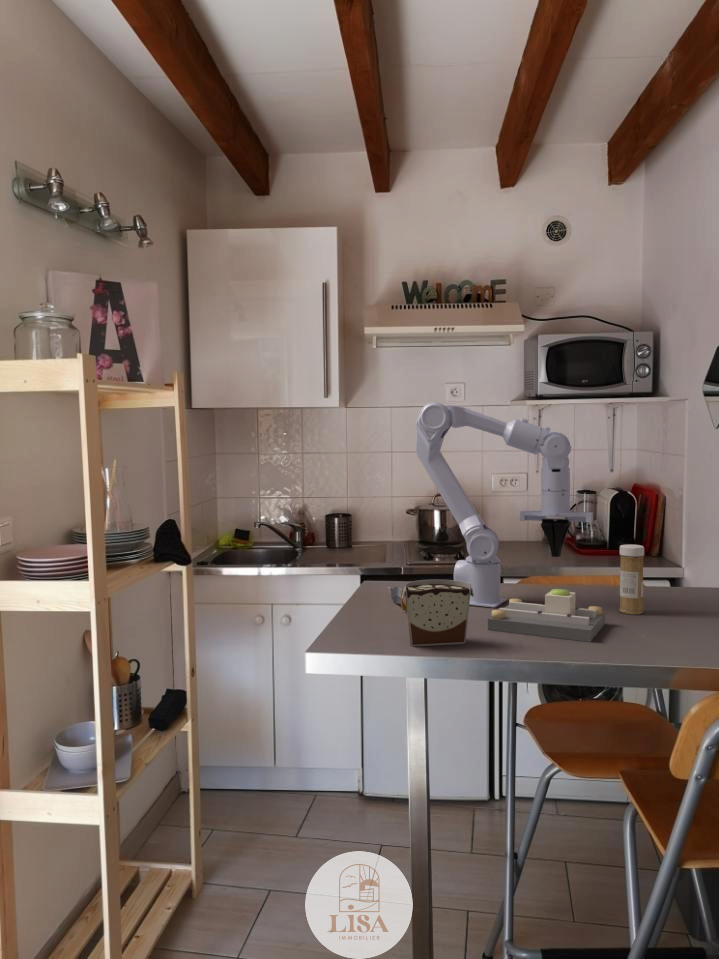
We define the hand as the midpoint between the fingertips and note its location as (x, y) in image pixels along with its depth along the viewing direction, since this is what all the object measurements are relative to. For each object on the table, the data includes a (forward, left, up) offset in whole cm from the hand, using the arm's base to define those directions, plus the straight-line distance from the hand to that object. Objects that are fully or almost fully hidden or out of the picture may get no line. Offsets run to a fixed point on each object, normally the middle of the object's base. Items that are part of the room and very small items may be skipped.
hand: (556, 556), depth 148 cm
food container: (-12, -36, -11) cm, 40 cm away
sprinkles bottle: (+15, +1, -11) cm, 18 cm away
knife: (-27, -18, -11) cm, 34 cm away
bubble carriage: (+5, -18, -8) cm, 20 cm away
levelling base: (+3, -18, -10) cm, 21 cm away
